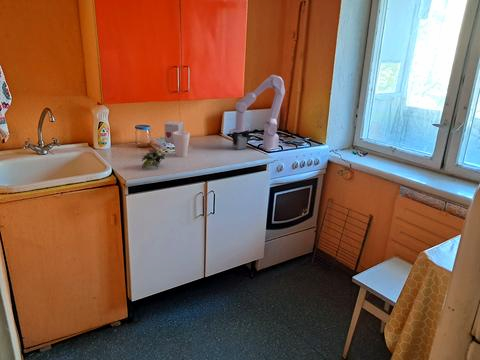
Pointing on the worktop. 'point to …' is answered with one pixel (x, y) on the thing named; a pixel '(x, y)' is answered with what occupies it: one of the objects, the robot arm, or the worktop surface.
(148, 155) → the green leafy clump
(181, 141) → the foam cup
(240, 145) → the grey cube
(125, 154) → the worktop surface
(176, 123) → the supplement box
